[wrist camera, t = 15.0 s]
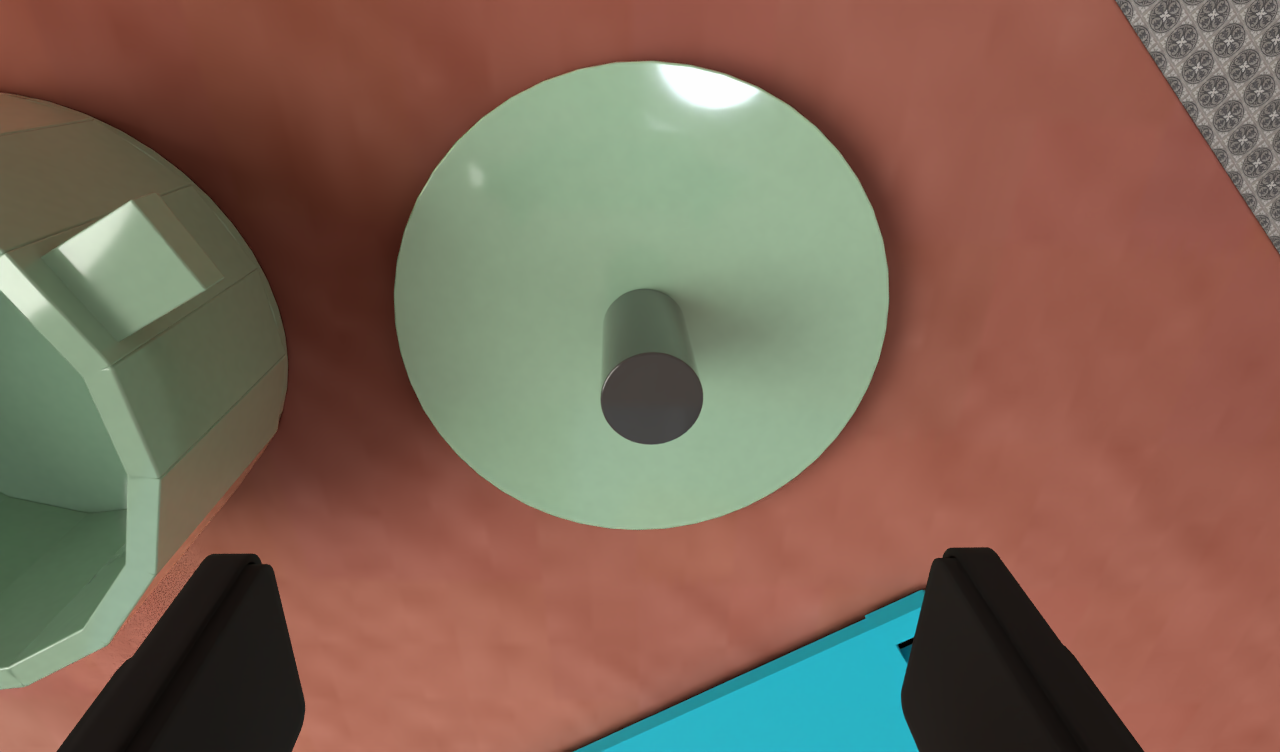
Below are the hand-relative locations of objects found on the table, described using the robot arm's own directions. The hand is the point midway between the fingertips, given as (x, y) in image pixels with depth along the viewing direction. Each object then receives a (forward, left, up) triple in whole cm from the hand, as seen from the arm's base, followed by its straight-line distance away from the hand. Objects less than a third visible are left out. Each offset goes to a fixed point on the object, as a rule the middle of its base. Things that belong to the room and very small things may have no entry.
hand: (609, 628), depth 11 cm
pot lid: (+1, +2, -16) cm, 16 cm away
